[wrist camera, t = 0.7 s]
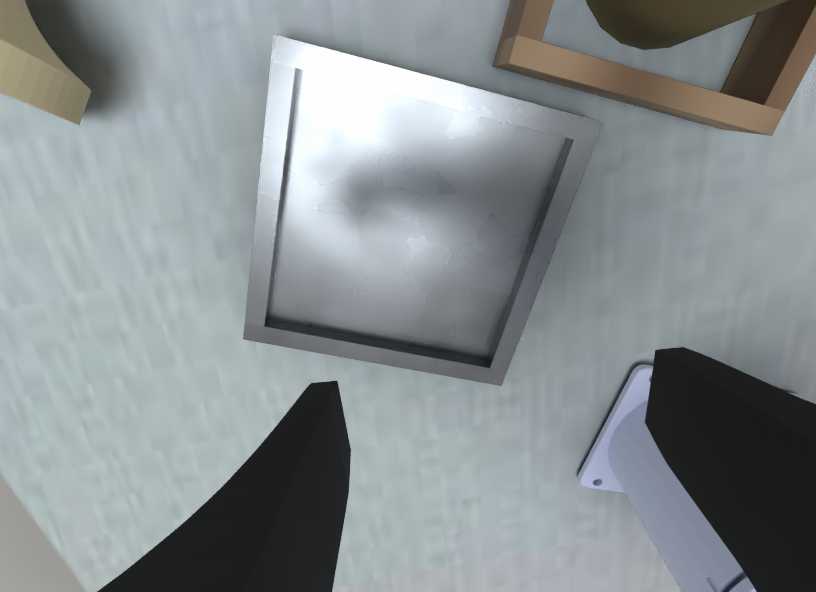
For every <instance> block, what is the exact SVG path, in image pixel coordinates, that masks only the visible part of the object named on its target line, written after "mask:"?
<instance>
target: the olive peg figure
mask: <svg viewBox="0 0 816 592" xmlns="http://www.w3.org/2000/svg"><path fill="white" fill-rule="evenodd" d="M786 1H788V0H587V4H588V6H589V7H590V9H591V11H592V13H593V14H594V16H595V18H596V20H597V21H598V23H599V25H600V26H601V28H602V29H604V30H605V31H606V32H607V33H609V34H610V35H611V36H612V37H614V38H615V39H616V40H617V41H619V42H620V43H622V44H626V45H629V46H633V47H636V48H640V49H643V50H647V49H657V48H668V47H672V46H674V45H677V44H680V43H682V42H685V41H687V40H690V39H692V38H695V37H697V36H700V35H702V34H705V33H707V32H710V31H712V30H715V29H717V28H720V27H723V26H725V25H728V24H730V23H733V22H735V21H738V20H740V19H743V18H745V17H748V16H750V15H753V14H755V13H758V12H760V11H763V10H766V9H768V8H771V7H773V6H776V5H778V4H781V3H783V2H786Z"/></svg>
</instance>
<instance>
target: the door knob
mask: <svg viewBox="0 0 816 592" xmlns="http://www.w3.org/2000/svg"><path fill="white" fill-rule="evenodd" d="M0 93H3V94H5V95H7V96H10V97H12V98H15V99H17V100H19V101H22V102H24V103H27V104H29V105H31V106H34V107H36V108H39V109H41V110H44V111H46V112H48V113H51V114H53V115H56V116H58V117H60V118H63V119H65V120H68V121H70V122H73V123H75V124H78V125H80V122H81V119H82V116H83V113H84V111H85V108H86V105H87V102H88V99H89V96H90V94H91V90H90V89H89V88H88V87H87V86H86V85H85V84H84V83H83V82H82V81H81V80H80V79H79V78H78V77H77V76H76V75H75V74H73V73H72V72H71V71H70V70H69V69H68V68H67V67H66V66H65V65H64V63H63V62H62V61H61V60H60V59H59V58H58V57H57V55H56V54H55V53H54V52H53V50H52V49H51V47H50V46H49V45H48V43H47V42H46V41H45V39H44V38H43V36H42V34H41V33H40V31H39V29H38V28H37V26H36V24H35V22H34V21H33V19H32V16H31V14H30V12H29V10H28V7H27V5H26V2H25V0H0Z"/></svg>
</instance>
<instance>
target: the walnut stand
mask: <svg viewBox="0 0 816 592" xmlns="http://www.w3.org/2000/svg"><path fill="white" fill-rule="evenodd" d="M553 1H554V0H511V2H510V6H509V9H508V13H507V17H506V20H505V24H504V27H503V31H502V34H501V38H500V42H499V45H498V49H497V52H496V56H495V59H494V63H493V67H497V68H501V69H504V70H508V71H512V72H515V73H519V74H523V75H526V76H530V77H533V78H537V79H541V80H544V81H548V82H552V83H555V84H559V85H563V86H566V87H570V88H574V89H577V90H581V91H585V92H588V93H592V94H596V95H599V96H603V97H607V98H610V99H614V100H618V101H621V102H625V103H629V104H632V105H636V106H640V107H643V108H647V109H650V110H654V111H658V112H661V113H665V114H669V115H672V116H676V117H680V118H683V119H687V120H691V121H694V122H698V123H702V124H705V125H709V126H713V127H716V128H720V129H724V130H732V131H739V132H747V133H755V134H763V135H771V136H772V134H773V132H774V131H775V129H776V127H777V125H778V123H779V121H780V119H781V118H782V116H783V114H784V112H785V110H786V108H787V106H788V104H789V103H790V101H791V99H792V97H793V95H794V93H795V91H796V90H797V88H798V86H799V84H800V82H801V80H802V78H803V77H804V75H805V73H806V71H807V69H808V67H809V65H810V64H811V62H812V60H813V58H814V56H815V54H816V0H788V1H786V2H783V3H781V4H778V5H776V6H773V7H771V8H768V9H766V10H763V11H760V12H759V13H758V15H757V17H756V19H755V21H754V23H753V25H752V28H751V30H750V32H749V34H748V36H747V38H746V40H745V42H744V44H743V47H742V49H741V51H740V53H739V55H738V57H737V59H736V61H735V63H734V65H733V68H732V70H731V72H730V74H729V76H728V78H727V80H726V82H725V84H724V87H723V89H722V91H721V93H719V92H715V91H712V90H708V89H705V88H701V87H698V86H694V85H691V84H687V83H684V82H680V81H677V80H673V79H670V78H666V77H663V76H659V75H656V74H652V73H649V72H645V71H642V70H638V69H635V68H631V67H628V66H624V65H621V64H617V63H614V62H610V61H607V60H603V59H600V58H596V57H593V56H589V55H586V54H582V53H578V52H575V51H571V50H568V49H564V48H561V47H557V46H554V45H550V44H547V43H543V42H541V40H542V37H543V33H544V30H545V27H546V24H547V21H548V17H549V14H550V11H551V8H552V5H553Z"/></svg>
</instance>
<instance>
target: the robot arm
mask: <svg viewBox="0 0 816 592" xmlns="http://www.w3.org/2000/svg"><path fill="white" fill-rule="evenodd" d="M651 376H652V377H651ZM650 377H651V378H650ZM649 378H650V379H649ZM350 455H351V449H350V444H349V439H348V433H347V428H346V423H345V418H344V413H343V408H342V403H341V397H340V392H339V387H338V382H337V381H330V382H319V383H311V384H310V385H309V386H308V387H307V388H306V390H305V391H304V392H303V393H302V394H301V396H300V397H299V398H298V399H297V401H296V402H295V403H294V405H293V406H292V407H291V408H290V410H289V411H288V412H287V413H286V415H285V416H284V417H283V419H282V420H281V421H280V422H279V424H278V425H277V426H276V427H275V428H274V430H273V431H272V432H271V433H270V434H269V436H268V437H267V438H266V439H265V440H264V442H263V443H262V444H261V445H260V446H259V447H258V449H257V450H256V451H255V452H254V453H253V454H252V455H251V457H250V458H249V459H248V460H247V461H246V462H245V463H244V464H243V465H242V466H241V467H240V468H239V470H238V471H237V472H236V473H235V474H234V475H233V476H232V477H231V478H230V479H229V480H228V481H227V482H226V484H225V485H224V486H223V487H222V488H221V489H220V490H218V491H217V492H216V493H215V494H214V495H213V496H212V497H211V498H210V499H209V500H208V501H207V502H206V503H205V504H204V505H203V506H202V507H201V508H199V509H198V510H197V511H196V512H195V513H194V514H193V515H192V516H191V517H190V518H189V519H188V520H186V521H185V522H184V523H183V524H182V525H181V526H180V527H178V528H177V529H176V530H175V531H174V532H172V533H171V534H170V535H169V536H168V537H166V538H165V539H164V540H163V541H161V542H160V543H159V544H158V545H157V546H155V547H154V548H153V549H152V550H150V551H149V552H148V553H147V554H146V555H144V556H143V557H142V558H141V559H139V560H138V561H137V562H136V563H135V564H133V565H132V566H131V567H130V568H128V569H127V570H126V571H124V572H123V573H122V574H121V575H119V576H118V577H116V578H115V579H114V580H112V581H111V582H110V583H108V584H107V585H106V586H104V587H103V588H102V589H100V590H99V591H98V592H332V588H333V582H334V576H335V570H336V565H337V559H338V553H339V547H340V541H341V535H342V530H343V524H344V518H345V512H346V505H347V499H348V493H349V477H350ZM596 479H597V480H596ZM578 480H579V482H580V484H581V485H582V486H584V487H589V488H595V489H602V490H608V491H615V492H621V493H625V494H626V496H627V498H628V499H629V501H630V503H631V505H632V506H633V508H634V510H635V512H636V513H637V515H638V517H639V518H640V520H641V522H642V524H643V525H644V527H645V529H646V531H647V532H648V534H649V536H650V538H651V539H652V541H653V543H654V545H655V546H656V548H657V550H658V552H659V553H660V555H661V557H662V558H663V560H664V562H665V564H666V565H667V567H668V569H669V571H670V572H671V574H672V576H673V578H674V579H675V581H676V583H677V585H678V586H679V588H680V590H681V591H682V592H816V404H814V403H811V402H809V401H807V400H805V399H804V398H802V397H801V396H800V395H798V394H795V393H789V392H786V391H784V390H781V389H779V388H777V387H775V386H772V385H770V384H768V383H766V382H763V381H761V380H759V379H757V378H754V377H752V376H750V375H748V374H746V373H743V372H741V371H739V370H737V369H735V368H732V367H730V366H728V365H726V364H723V363H721V362H719V361H717V360H714V359H712V358H710V357H707V356H705V355H702V354H700V353H697V352H695V351H692V350H690V349H687V348H684V347H680V348H670V349H660V350H656V351H655V358H654V364H653V366H651V365H639V366H637V367H636V368H635V369H634V370H633V371H632V373H631V375H630V377H629V379H628V381H627V383H626V385H625V386H624V388H623V390H622V392H621V394H620V396H619V398H618V400H617V402H616V404H615V406H614V407H613V409H612V411H611V413H610V415H609V417H608V419H607V421H606V423H605V425H604V427H603V428H602V430H601V432H600V434H599V436H598V438H597V440H596V442H595V444H594V446H593V448H592V450H591V451H590V453H589V455H588V457H587V459H586V461H585V463H584V465H583V467H582V469H581V471H580V472H579V474H578Z"/></svg>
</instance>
